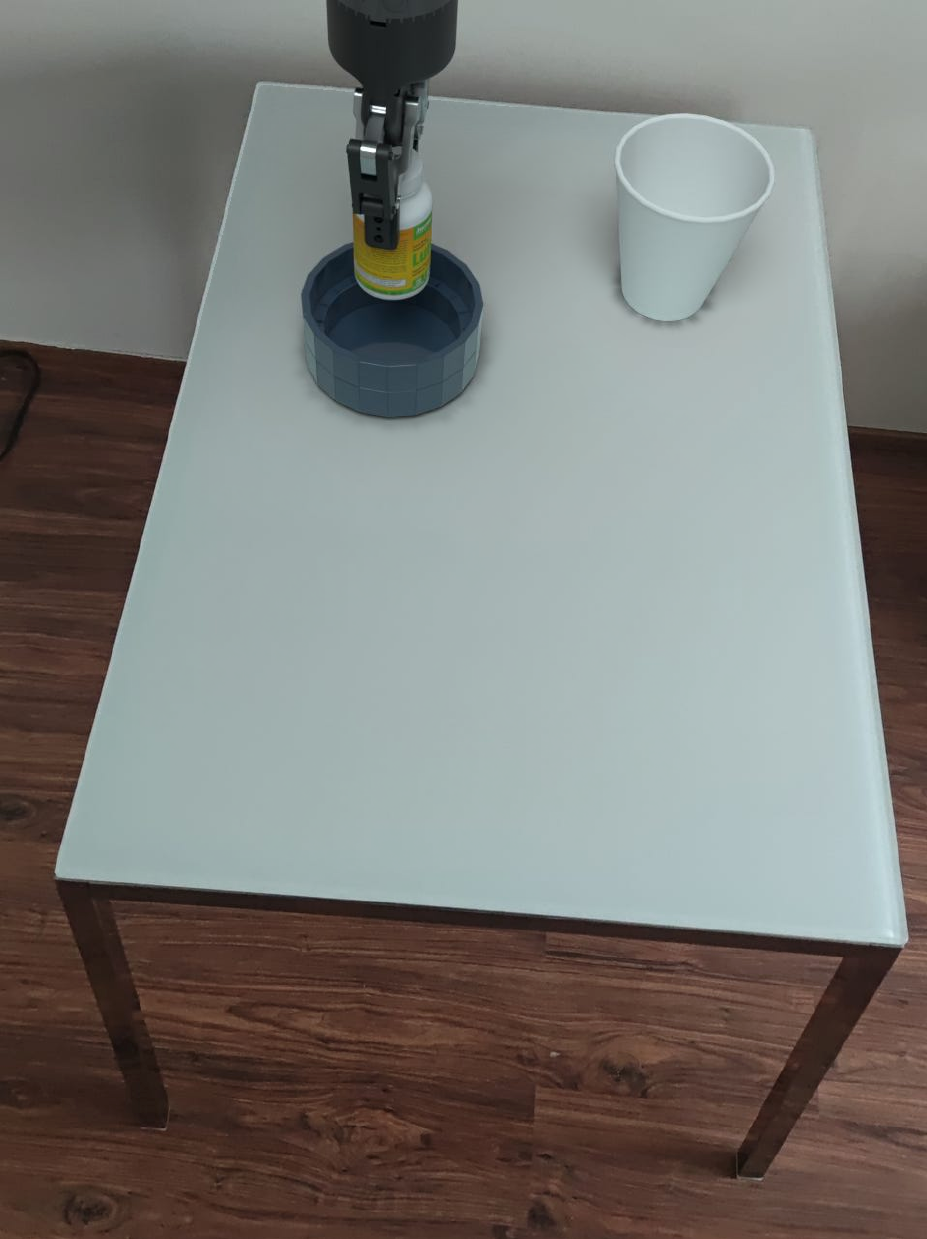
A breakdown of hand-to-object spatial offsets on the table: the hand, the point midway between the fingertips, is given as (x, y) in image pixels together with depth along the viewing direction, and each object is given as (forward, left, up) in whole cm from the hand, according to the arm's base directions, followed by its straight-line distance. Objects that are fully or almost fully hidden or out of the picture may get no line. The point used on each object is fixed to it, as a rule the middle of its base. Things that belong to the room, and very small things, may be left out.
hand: (391, 214), depth 82 cm
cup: (+20, +12, -14) cm, 27 cm away
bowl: (0, 0, -14) cm, 14 cm away
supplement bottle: (0, 0, -6) cm, 6 cm away
